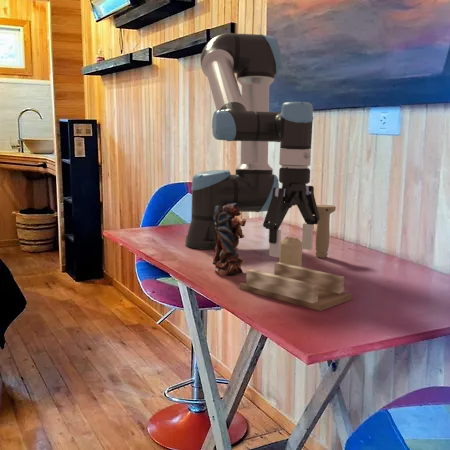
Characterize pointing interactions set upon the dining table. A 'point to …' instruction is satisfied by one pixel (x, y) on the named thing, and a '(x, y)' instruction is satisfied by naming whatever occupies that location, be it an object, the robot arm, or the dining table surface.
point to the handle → (323, 230)
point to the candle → (291, 251)
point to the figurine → (228, 240)
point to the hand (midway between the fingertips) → (291, 252)
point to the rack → (298, 286)
